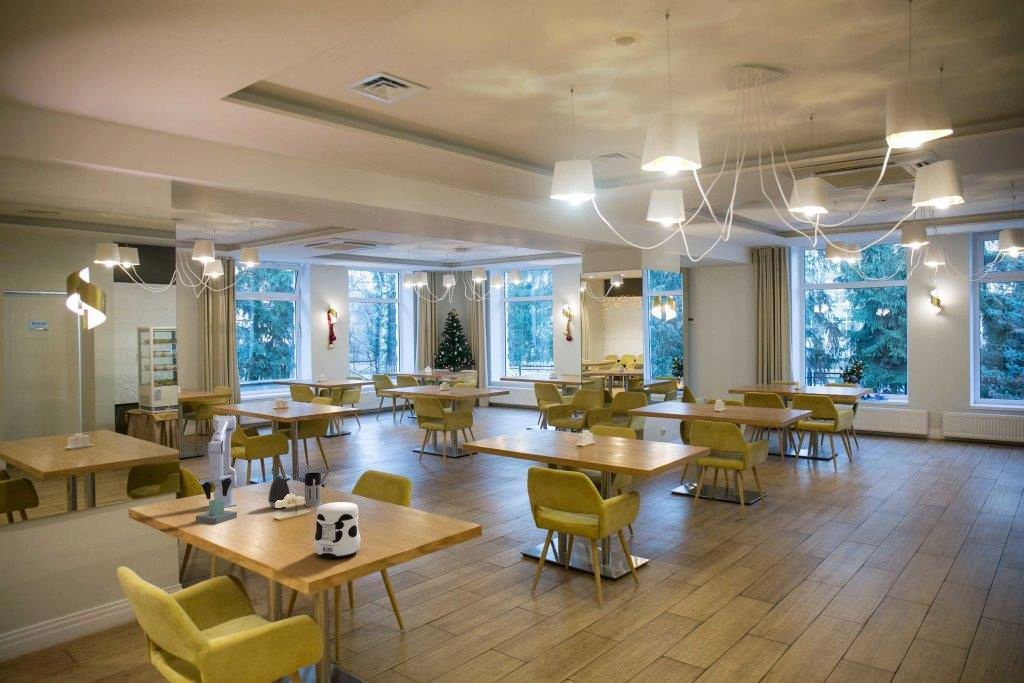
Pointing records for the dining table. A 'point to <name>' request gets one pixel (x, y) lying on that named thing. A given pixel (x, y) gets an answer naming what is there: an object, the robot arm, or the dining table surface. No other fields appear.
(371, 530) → the dining table surface
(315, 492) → the glass holder
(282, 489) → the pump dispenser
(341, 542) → the milk container
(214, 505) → the teal block
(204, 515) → the slate base
